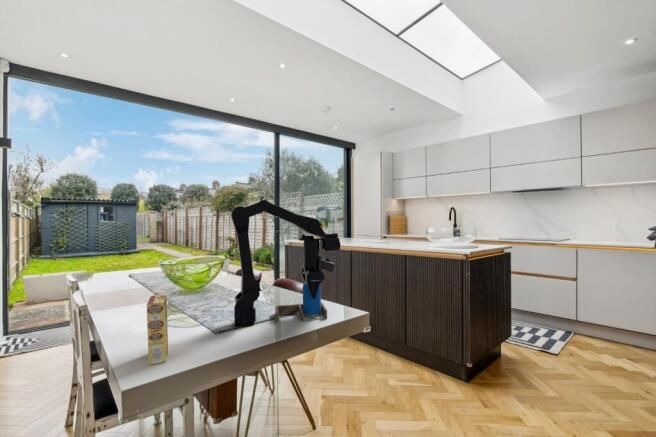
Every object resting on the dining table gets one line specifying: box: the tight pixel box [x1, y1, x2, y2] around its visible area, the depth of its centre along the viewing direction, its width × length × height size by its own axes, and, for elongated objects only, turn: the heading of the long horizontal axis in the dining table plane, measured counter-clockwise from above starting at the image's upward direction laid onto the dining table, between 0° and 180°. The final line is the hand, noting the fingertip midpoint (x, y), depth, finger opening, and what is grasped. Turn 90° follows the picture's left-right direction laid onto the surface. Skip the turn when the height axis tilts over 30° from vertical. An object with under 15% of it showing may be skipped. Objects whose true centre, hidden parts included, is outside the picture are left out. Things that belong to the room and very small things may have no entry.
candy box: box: [146, 294, 169, 366], centre depth 84 cm, size 9×4×15 cm, turn 23°
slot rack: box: [274, 302, 328, 323], centre depth 117 cm, size 18×10×3 cm, turn 101°
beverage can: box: [302, 280, 322, 317], centre depth 118 cm, size 6×6×12 cm
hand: (312, 295), depth 118 cm, fingers open, 9 cm apart
